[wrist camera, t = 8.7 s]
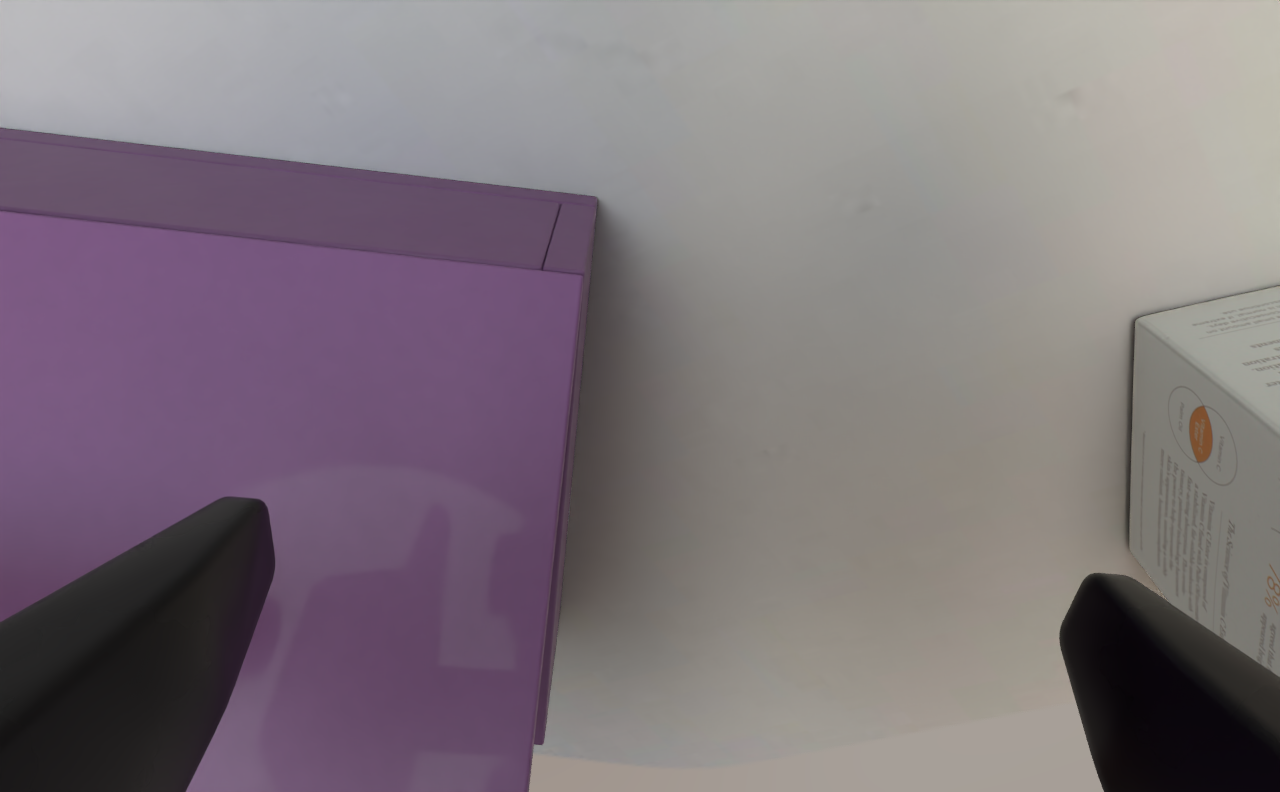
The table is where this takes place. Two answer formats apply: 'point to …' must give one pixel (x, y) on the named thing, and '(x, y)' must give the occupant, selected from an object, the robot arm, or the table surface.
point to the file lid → (305, 478)
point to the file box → (318, 230)
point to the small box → (1211, 465)
